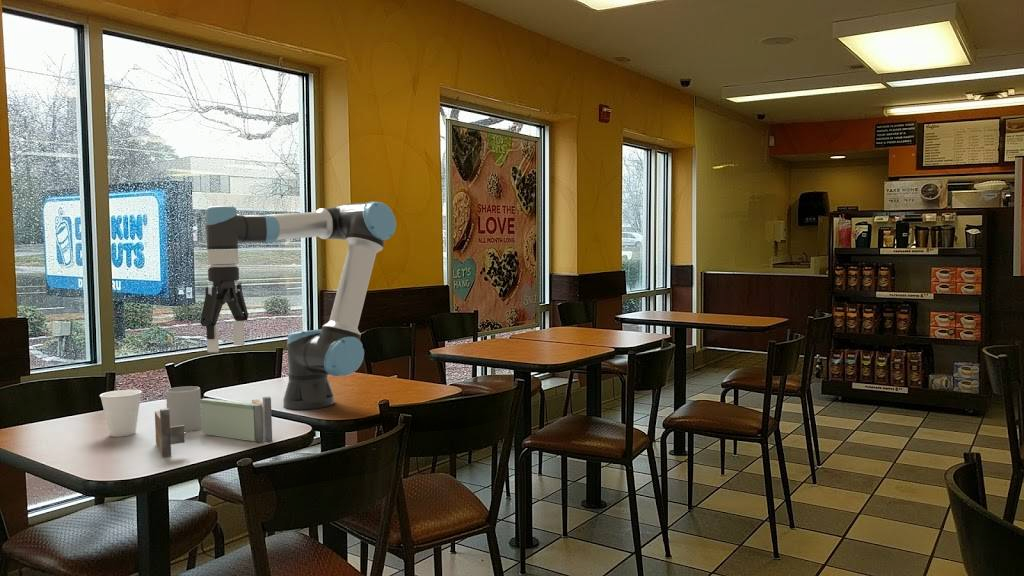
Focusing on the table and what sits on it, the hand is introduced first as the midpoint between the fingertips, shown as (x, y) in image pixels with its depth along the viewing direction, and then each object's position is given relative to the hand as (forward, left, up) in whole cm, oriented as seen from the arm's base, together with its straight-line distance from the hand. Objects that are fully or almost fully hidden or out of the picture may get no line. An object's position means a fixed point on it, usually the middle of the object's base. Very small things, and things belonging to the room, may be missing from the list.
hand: (226, 348), depth 196 cm
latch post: (+16, +9, -22) cm, 29 cm away
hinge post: (-6, +8, -22) cm, 25 cm away
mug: (+9, -14, -23) cm, 28 cm away
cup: (+24, -16, -23) cm, 36 cm away
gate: (0, +6, -22) cm, 23 cm away
